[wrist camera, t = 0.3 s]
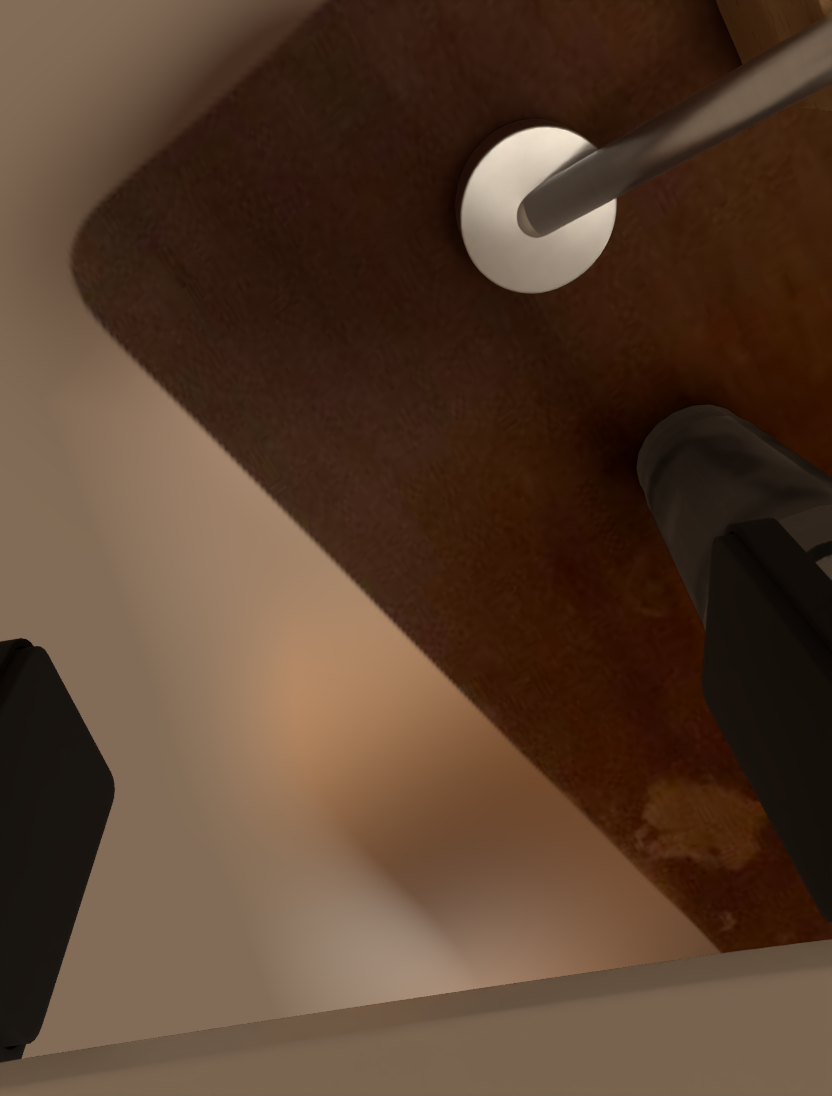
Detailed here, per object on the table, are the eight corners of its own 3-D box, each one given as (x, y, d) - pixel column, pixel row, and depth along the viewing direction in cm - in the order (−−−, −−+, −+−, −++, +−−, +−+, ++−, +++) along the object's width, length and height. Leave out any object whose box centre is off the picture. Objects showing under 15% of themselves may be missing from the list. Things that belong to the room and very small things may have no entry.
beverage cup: (819, 448, 31) (1371, 914, 14) (674, 565, 34) (998, 1075, 17) (713, 329, 28) (1254, 739, 11) (564, 466, 31) (824, 967, 14)
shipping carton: (758, 103, 24) (860, 115, 19) (704, -25, 22) (802, -47, 18) (830, 48, 24) (954, 47, 19) (780, -88, 22) (905, -129, 17)
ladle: (506, 305, 27) (573, 457, 18) (425, 186, 25) (452, 286, 15) (1075, -107, 21) (1634, -214, 12) (1036, -311, 19) (1685, -645, 10)
